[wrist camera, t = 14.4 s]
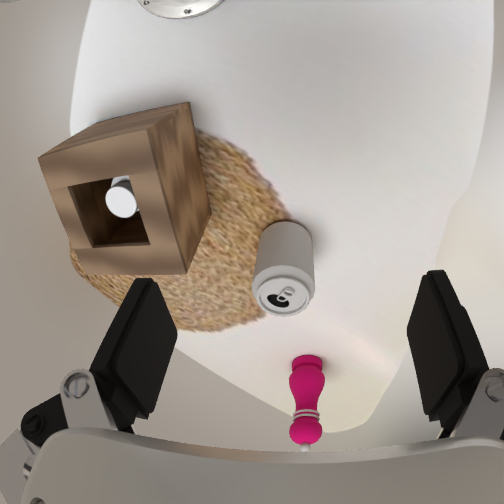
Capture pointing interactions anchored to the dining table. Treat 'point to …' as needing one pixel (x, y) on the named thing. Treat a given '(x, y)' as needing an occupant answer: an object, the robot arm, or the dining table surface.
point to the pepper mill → (306, 400)
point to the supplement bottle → (121, 197)
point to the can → (284, 269)
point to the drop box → (144, 187)
